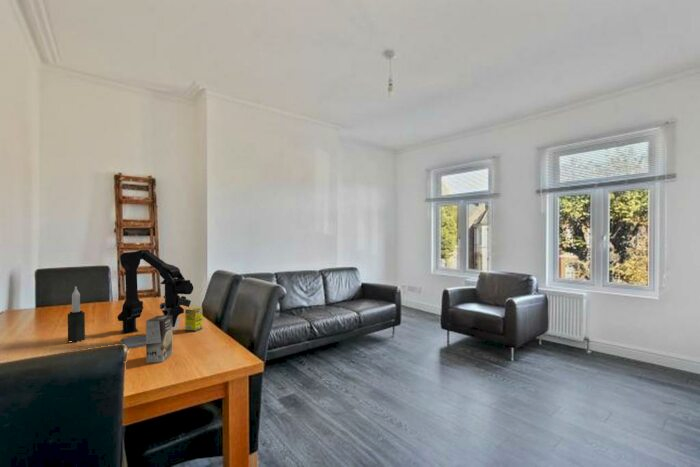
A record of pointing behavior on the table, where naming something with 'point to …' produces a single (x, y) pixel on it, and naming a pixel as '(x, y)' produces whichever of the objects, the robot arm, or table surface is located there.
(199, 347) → the table surface
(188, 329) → the supplement box
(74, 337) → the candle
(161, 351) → the coffee box
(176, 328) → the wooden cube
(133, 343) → the rubber mat
